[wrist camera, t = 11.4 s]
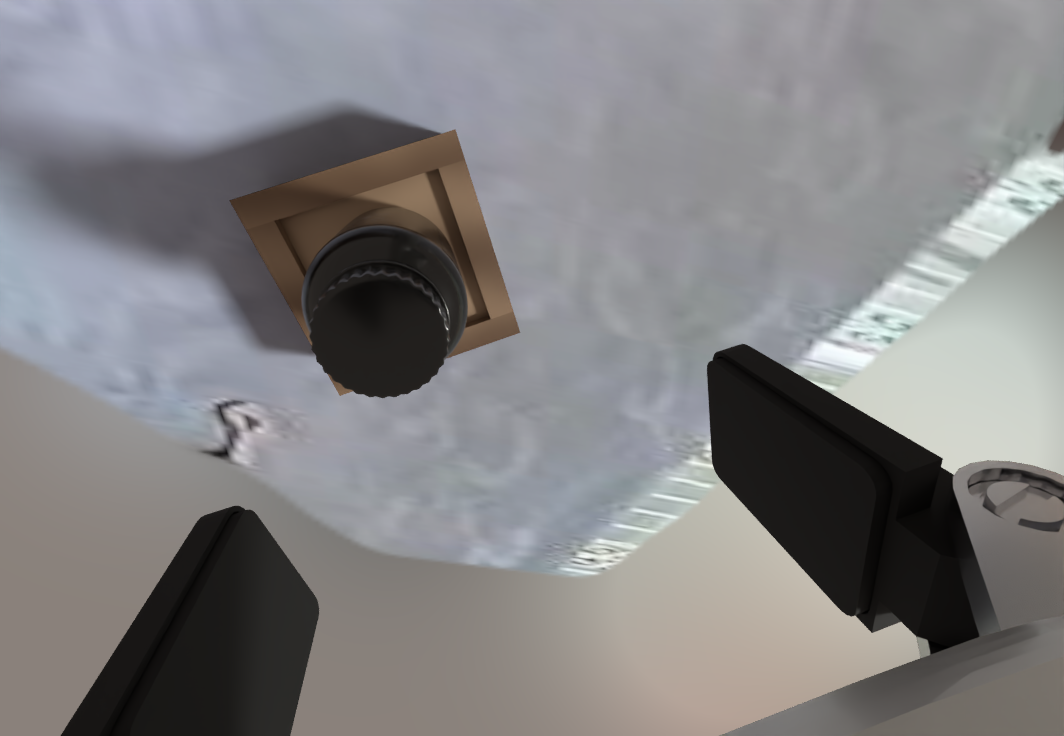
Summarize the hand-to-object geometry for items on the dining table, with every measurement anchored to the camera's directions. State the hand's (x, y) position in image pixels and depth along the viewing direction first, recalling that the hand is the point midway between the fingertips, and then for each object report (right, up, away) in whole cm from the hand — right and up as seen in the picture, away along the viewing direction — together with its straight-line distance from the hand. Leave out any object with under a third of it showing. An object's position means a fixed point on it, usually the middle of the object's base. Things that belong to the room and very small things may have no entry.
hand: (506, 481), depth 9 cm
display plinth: (-9, +10, +22) cm, 25 cm away
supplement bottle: (-7, +8, +17) cm, 21 cm away
